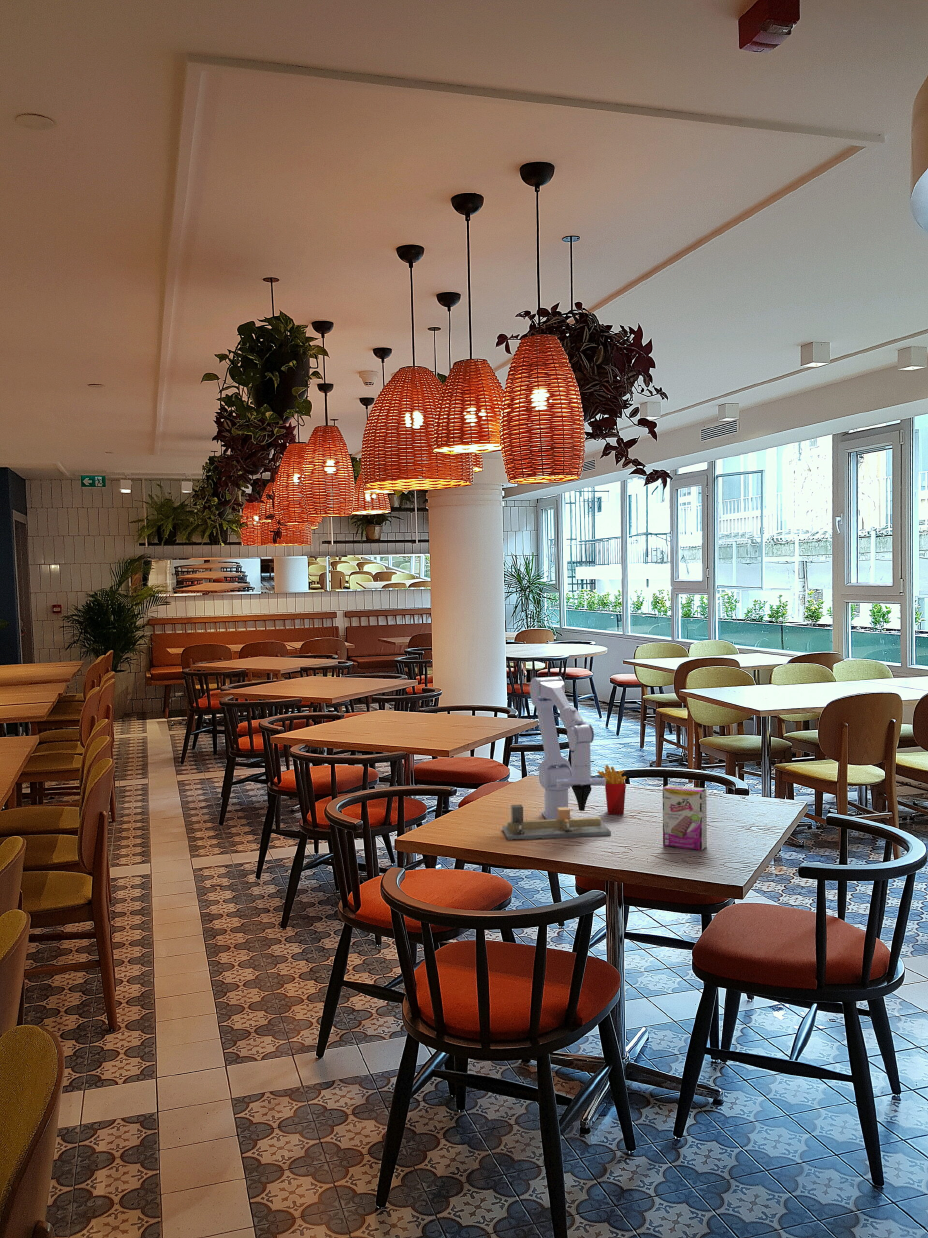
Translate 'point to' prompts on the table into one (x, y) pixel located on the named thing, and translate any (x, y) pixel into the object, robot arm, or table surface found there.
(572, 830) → the bolt plate
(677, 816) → the candy bar box
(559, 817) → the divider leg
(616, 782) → the french fries
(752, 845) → the table surface
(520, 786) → the table surface
